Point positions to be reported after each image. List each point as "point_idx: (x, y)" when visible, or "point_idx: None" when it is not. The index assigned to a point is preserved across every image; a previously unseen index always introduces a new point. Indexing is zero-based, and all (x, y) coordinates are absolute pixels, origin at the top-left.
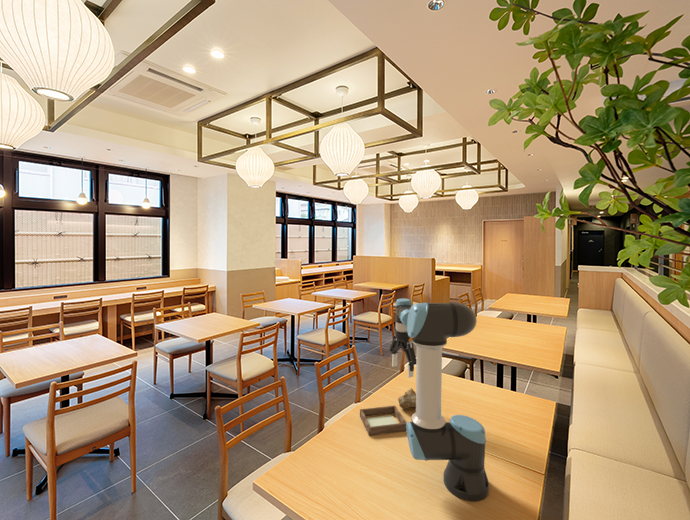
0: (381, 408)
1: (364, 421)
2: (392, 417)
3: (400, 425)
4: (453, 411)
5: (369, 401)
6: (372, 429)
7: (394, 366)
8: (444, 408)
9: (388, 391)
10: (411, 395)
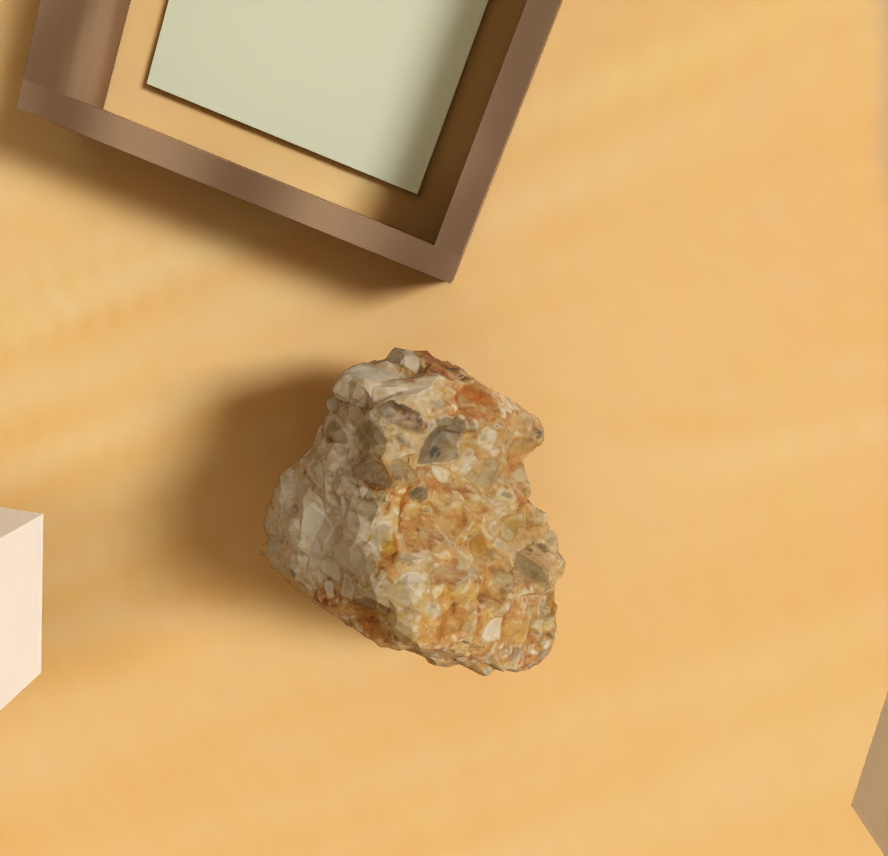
0: (505, 60)
1: None
2: (368, 158)
3: (47, 10)
4: (142, 799)
5: (861, 168)
6: None
7: (885, 709)
8: (227, 776)
9: (884, 556)
10: (338, 533)
